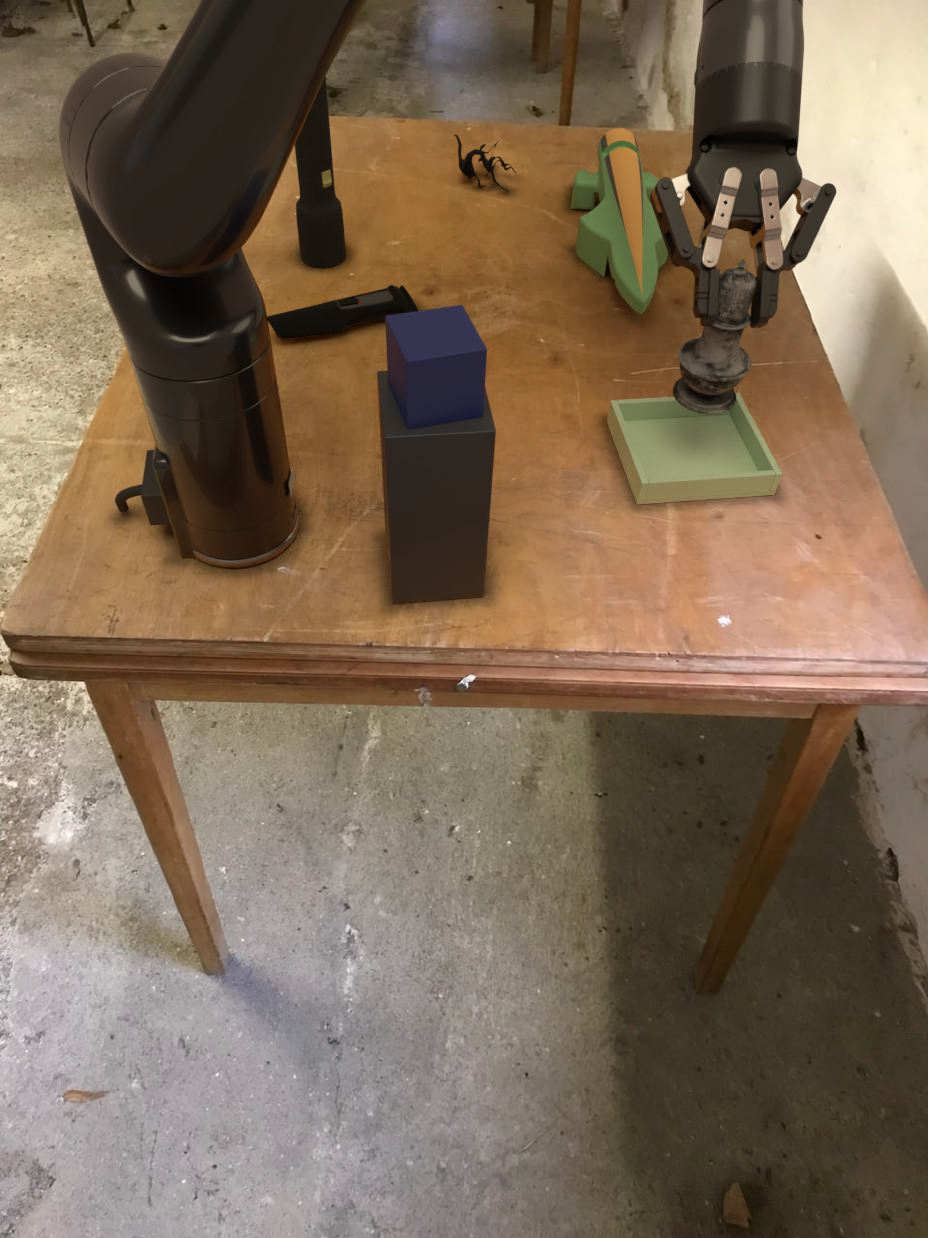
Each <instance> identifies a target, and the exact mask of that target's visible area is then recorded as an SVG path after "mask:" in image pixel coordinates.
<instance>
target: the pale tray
mask: <svg viewBox="0 0 928 1238" xmlns="http://www.w3.org/2000/svg"><path fill="white" fill-rule="evenodd" d="M735 393H736V402H735V405H734V406H733V407H732V408H731V409H730V410H728V411H726V412H724V413H720V414H710V415H708V414H700V413H697V412H693V411H691V410H689V409H687V408H685V407H683V406H682V405H681V404H679V403H678V402H677V400H676V399H675V398H674V396H662V397H661V396H659V397H645V398H643V397H642V398H627V399H625V398H624V399H611V400H610V402H609V406H608V413H607V416H606V417H607V418H606V424H607V428H608V430H609V432H610V435H611V438H612V440H613V444H614V446H615V448H616V451H617V455H618V457H619V459H620V460H619V461H620V463H621V465H622V468H623V470H624V473H625V476H626V478H627V481H628V483H629V487H630V489H631V492H632V495H633V498H634V500H635V503H636V505H650V504H665V503H676V502H677V503H678V502H679V503H680V502H691V501H707V500H708V501H709V500H721V499H722V500H723V499H735V498H750V497H765V496H774V495H775V494H776V491H777V489H778V486H779V484H780V481H781V479H782V476H783V472H782V470H781V469H780V467H779V465H778V463H777V461H776V459H775V457H774V455H773V454H772V451H771V450H770V447H769V446H768V444H767V442H766V440H765V438H764V437H763V435H762V432H761V431H760V429H759V427H758V426H757V424H756V422H755V419H754V417H753V416H752V414H751V412H750V410H749V409H748V406H747V404H746V403H745V400H744V399H743V397H742V395H741V393H740V392H735Z"/></svg>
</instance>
